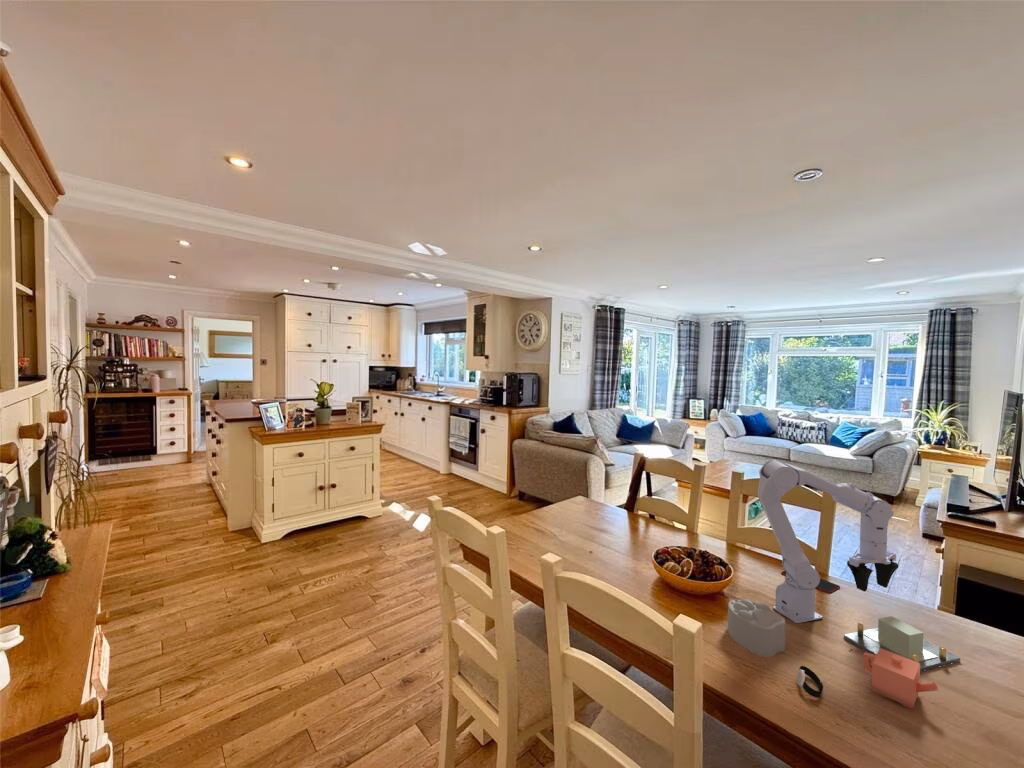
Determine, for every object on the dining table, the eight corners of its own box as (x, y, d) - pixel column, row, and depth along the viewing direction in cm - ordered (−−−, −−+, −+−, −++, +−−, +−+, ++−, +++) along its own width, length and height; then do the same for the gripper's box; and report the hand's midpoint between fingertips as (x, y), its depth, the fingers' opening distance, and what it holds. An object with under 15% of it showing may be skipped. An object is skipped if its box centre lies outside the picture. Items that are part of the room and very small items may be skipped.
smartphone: (791, 567, 149) (841, 586, 136) (791, 569, 149) (841, 589, 136) (779, 572, 146) (829, 592, 133) (779, 575, 146) (829, 595, 133)
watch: (793, 673, 99) (793, 658, 99) (817, 678, 97) (817, 663, 97) (801, 697, 92) (801, 680, 92) (827, 703, 90) (828, 686, 90)
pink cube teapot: (935, 723, 85) (936, 683, 84) (859, 688, 94) (860, 652, 94) (940, 703, 90) (941, 666, 89) (867, 672, 99) (868, 638, 99)
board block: (908, 655, 103) (909, 635, 103) (877, 637, 110) (878, 618, 109) (922, 652, 104) (923, 632, 104) (891, 635, 111) (891, 616, 110)
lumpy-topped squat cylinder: (765, 660, 103) (766, 625, 103) (717, 631, 115) (718, 599, 114) (790, 647, 108) (791, 613, 108) (742, 620, 120) (742, 590, 119)
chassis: (904, 675, 98) (905, 661, 98) (843, 638, 111) (844, 625, 111) (960, 661, 102) (960, 647, 102) (894, 627, 116) (895, 614, 116)
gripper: (868, 548, 112) (867, 598, 113) (909, 542, 116) (907, 591, 116) (842, 538, 119) (840, 585, 120) (880, 532, 123) (879, 579, 123)
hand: (871, 587), depth 118 cm, fingers open, 7 cm apart
